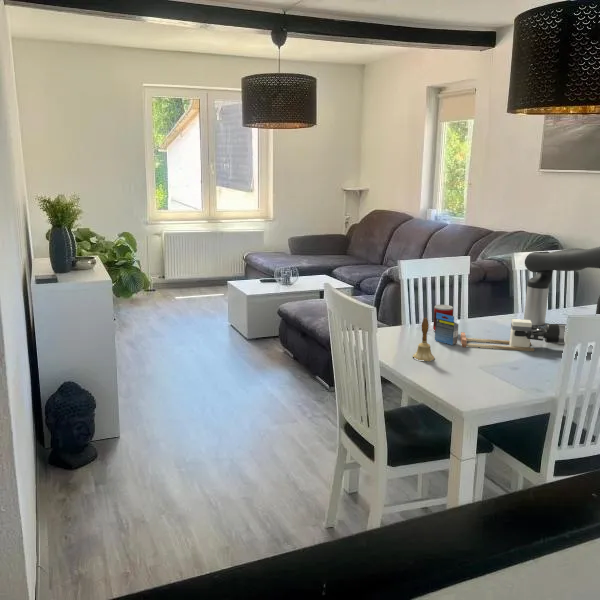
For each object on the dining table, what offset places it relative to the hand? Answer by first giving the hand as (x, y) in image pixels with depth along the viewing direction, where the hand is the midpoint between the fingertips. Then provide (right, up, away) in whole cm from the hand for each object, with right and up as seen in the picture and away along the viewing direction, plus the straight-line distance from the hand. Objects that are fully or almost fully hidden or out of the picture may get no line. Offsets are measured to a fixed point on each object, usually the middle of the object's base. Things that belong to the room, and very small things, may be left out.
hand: (513, 331), depth 242 cm
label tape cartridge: (-26, -5, +7) cm, 27 cm away
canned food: (-24, -1, +22) cm, 32 cm away
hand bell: (-39, -10, -12) cm, 42 cm away
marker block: (+2, -6, +1) cm, 7 cm away
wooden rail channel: (-5, -6, +3) cm, 8 cm away
